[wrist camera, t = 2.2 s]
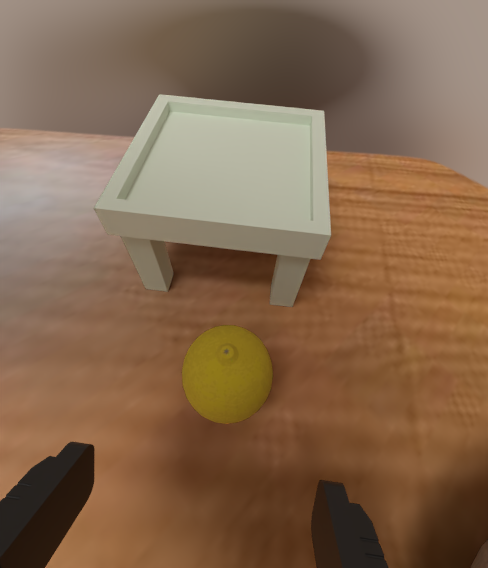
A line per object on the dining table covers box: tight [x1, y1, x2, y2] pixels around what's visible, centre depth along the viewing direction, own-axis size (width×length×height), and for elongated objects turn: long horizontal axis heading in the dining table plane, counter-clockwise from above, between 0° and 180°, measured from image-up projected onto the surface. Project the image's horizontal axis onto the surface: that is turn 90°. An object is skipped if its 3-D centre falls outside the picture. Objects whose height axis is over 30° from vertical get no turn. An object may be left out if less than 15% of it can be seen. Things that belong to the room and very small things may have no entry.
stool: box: [94, 95, 331, 307], centre depth 25 cm, size 14×14×10 cm
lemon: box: [182, 325, 273, 424], centre depth 18 cm, size 6×6×8 cm
